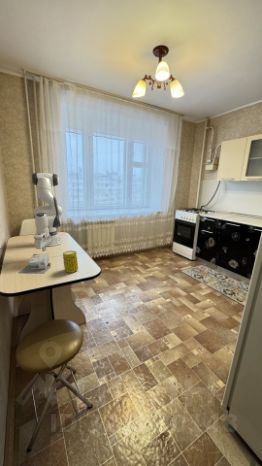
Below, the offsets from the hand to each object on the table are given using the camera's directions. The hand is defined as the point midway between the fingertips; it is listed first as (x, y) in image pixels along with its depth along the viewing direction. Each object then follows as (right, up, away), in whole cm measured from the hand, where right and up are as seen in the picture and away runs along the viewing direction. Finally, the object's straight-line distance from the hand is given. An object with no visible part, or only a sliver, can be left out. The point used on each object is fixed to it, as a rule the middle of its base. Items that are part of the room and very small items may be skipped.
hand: (44, 250), depth 154 cm
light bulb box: (+1, -4, -7) cm, 8 cm away
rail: (0, -11, -8) cm, 13 cm away
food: (+26, -13, -15) cm, 32 cm away
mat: (0, -12, -14) cm, 19 cm away
